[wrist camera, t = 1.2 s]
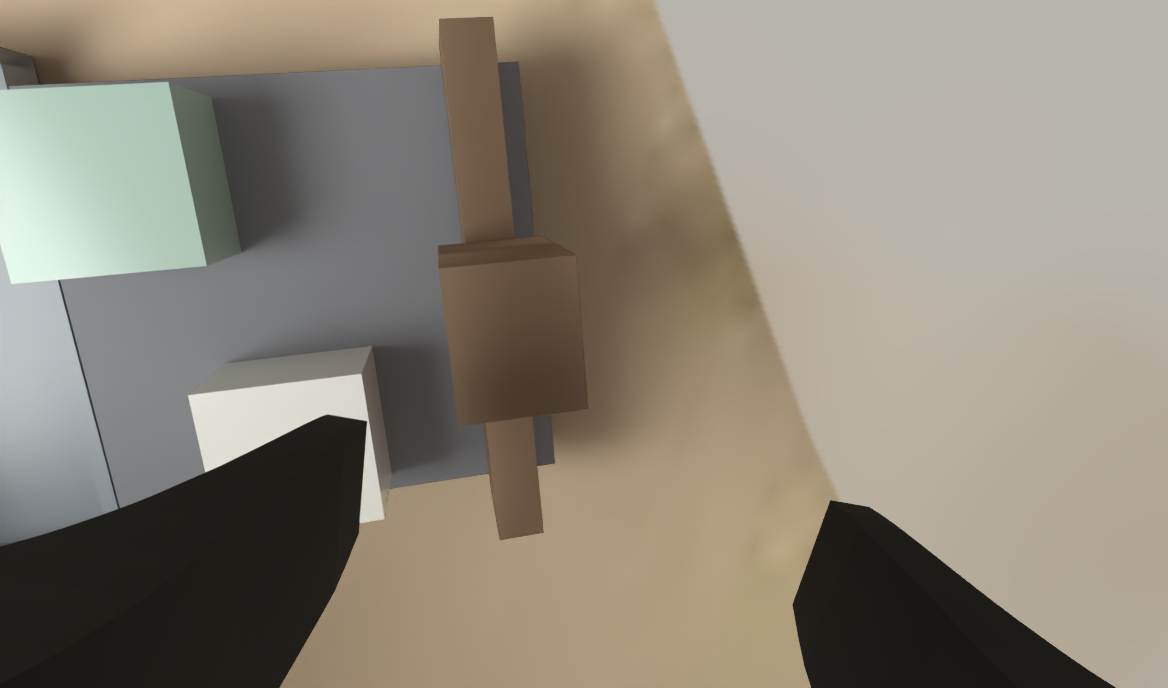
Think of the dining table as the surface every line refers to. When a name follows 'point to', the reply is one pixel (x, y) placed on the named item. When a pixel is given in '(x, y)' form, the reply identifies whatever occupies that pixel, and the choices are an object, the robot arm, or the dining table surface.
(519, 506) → the walnut mallet
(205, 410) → the matte white cube
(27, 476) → the tray
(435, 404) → the charcoal board
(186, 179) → the pale mint cube
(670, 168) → the dining table surface
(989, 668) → the robot arm
